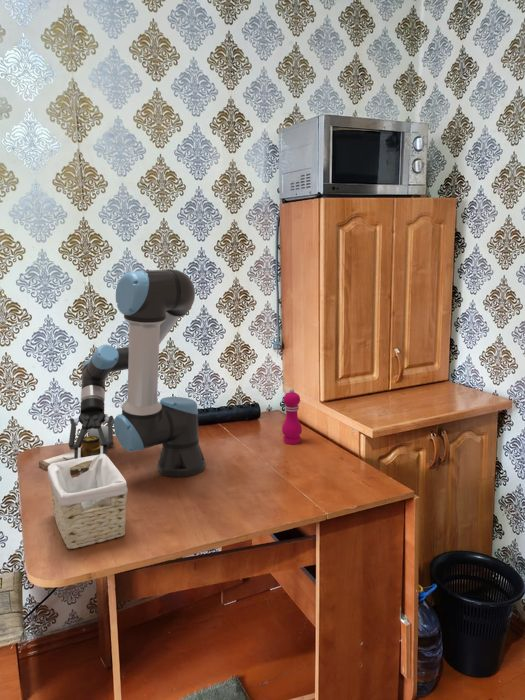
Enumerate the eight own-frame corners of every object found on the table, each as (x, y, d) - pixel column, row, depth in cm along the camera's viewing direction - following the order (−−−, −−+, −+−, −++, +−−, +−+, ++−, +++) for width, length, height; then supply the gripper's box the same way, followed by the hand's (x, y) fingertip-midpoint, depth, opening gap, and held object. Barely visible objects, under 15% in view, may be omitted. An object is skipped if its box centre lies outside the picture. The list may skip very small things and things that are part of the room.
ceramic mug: (113, 448, 202) (112, 427, 201) (90, 451, 199) (88, 430, 198) (111, 439, 212) (109, 419, 210) (88, 442, 209) (86, 422, 208)
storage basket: (49, 513, 154) (45, 462, 151) (109, 500, 161) (106, 451, 158) (64, 555, 133) (59, 497, 130) (132, 538, 140) (129, 482, 138)
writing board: (97, 465, 186) (97, 459, 186) (61, 478, 177) (60, 471, 176) (75, 455, 195) (74, 449, 195) (39, 466, 186) (38, 460, 185)
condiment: (102, 468, 183) (99, 433, 181) (107, 478, 176) (104, 441, 174) (79, 472, 180) (76, 437, 178) (83, 482, 173) (80, 445, 170)
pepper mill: (283, 437, 210) (282, 385, 206) (302, 438, 209) (302, 385, 205) (281, 444, 203) (280, 390, 199) (301, 445, 202) (301, 391, 198)
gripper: (123, 405, 191) (123, 470, 179) (64, 409, 188) (60, 475, 175) (121, 394, 185) (121, 460, 172) (60, 398, 182) (56, 465, 169)
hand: (90, 467), depth 174 cm, fingers closed on condiment, 6 cm apart
